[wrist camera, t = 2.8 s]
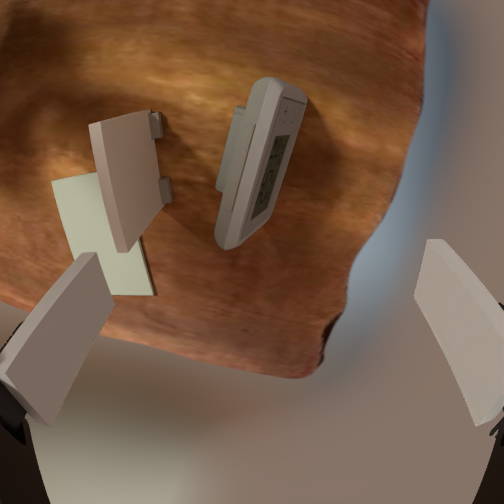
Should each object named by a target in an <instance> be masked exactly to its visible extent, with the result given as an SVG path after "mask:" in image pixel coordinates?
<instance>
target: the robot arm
mask: <svg viewBox="0 0 504 504" xmlns="http://www.w3.org/2000/svg"><path fill="white" fill-rule="evenodd" d="M414 298H415V300H416V302H417V303H418V305H419V307H420V309H421V311H422V313H423V314H424V316H425V318H426V320H427V322H428V324H429V325H430V327H431V329H432V331H433V333H434V335H435V337H436V339H437V341H438V343H439V345H440V347H441V349H442V351H443V353H444V355H445V357H446V359H447V361H448V363H449V365H450V368H451V370H452V372H453V374H454V376H455V379H456V381H457V383H458V385H459V388H460V390H461V392H462V394H463V396H464V399H465V402H466V404H467V406H468V409H469V411H470V414H471V416H472V419H473V421H474V424H475V426H478V425H480V424H483V423H486V422H488V421H491V420H493V419H494V418H495V417H496V415H497V414H498V413H499V412H500V411H501V409H503V411H504V305H503V304H501V303H497V302H496V300H495V299H494V298H493V297H492V295H491V294H490V293H489V291H488V290H487V289H486V288H485V287H484V285H483V284H482V283H481V282H480V280H479V279H478V278H477V277H476V276H475V274H474V273H473V272H472V271H471V270H470V269H469V267H468V266H467V265H466V264H465V263H464V262H463V261H462V260H461V258H460V257H459V256H458V255H457V254H456V253H455V252H454V251H453V250H452V249H451V247H450V246H449V245H448V244H447V243H446V242H445V241H444V240H443V239H427V243H426V248H425V252H424V257H423V261H422V266H421V270H420V274H419V278H418V282H417V286H416V290H415V293H414ZM114 307H115V303H114V301H113V298H112V295H111V293H110V290H109V287H108V285H107V282H106V279H105V276H104V273H103V270H102V267H101V264H100V261H99V258H98V255H97V252H84V253H81V254H80V255H79V257H78V258H77V259H76V260H75V261H74V262H73V263H72V264H71V265H70V266H69V268H68V269H67V270H66V271H65V272H64V273H63V274H62V275H61V277H60V278H59V279H58V280H57V281H56V282H55V284H54V285H53V286H52V287H51V288H50V289H49V291H48V292H47V293H46V294H45V295H44V297H43V298H42V299H41V300H40V302H39V303H38V304H37V305H36V307H35V308H34V309H33V310H32V312H31V313H30V314H29V316H28V317H27V318H26V319H25V320H24V321H23V322H21V323H20V324H19V325H18V327H17V328H16V329H15V331H14V332H13V334H12V336H10V338H9V339H8V340H7V343H5V344H4V346H3V347H2V349H1V350H0V504H50V501H49V498H48V496H47V493H46V489H45V486H44V483H43V480H42V476H41V473H40V470H39V466H38V462H37V459H36V455H35V450H34V446H33V442H32V438H31V433H30V428H29V424H28V422H27V420H26V419H25V418H24V417H25V415H26V413H28V414H29V415H30V416H31V417H32V418H33V419H34V420H35V421H36V422H38V423H41V424H43V425H46V426H49V427H52V426H53V424H54V421H55V419H56V417H57V415H58V413H59V410H60V408H61V406H62V404H63V402H64V400H65V398H66V396H67V394H68V392H69V390H70V388H71V386H72V384H73V381H74V380H75V378H76V376H77V374H78V372H79V370H80V368H81V366H82V364H83V362H84V360H85V358H86V356H87V355H88V353H89V351H90V349H91V347H92V345H93V343H94V342H95V340H96V338H97V336H98V334H99V333H100V331H101V329H102V327H103V326H104V324H105V322H106V320H107V319H108V317H109V315H110V313H111V312H112V310H113V308H114ZM498 429H499V430H498ZM497 430H498V434H497V435H496V436H495V438H496V441H495V444H494V447H493V451H492V454H491V457H490V460H489V463H488V466H487V468H486V471H485V474H484V477H483V479H482V482H481V484H480V487H479V489H478V492H477V494H476V497H475V499H474V501H473V503H472V504H504V417H503V418H502V419H501V420H500V422H499V423H498V424H497V425H496V426H495V427H494V428H493V429H492V430H491V432H490V434H489V435H490V436H492V435H493V434H494V433H495V432H496V431H497Z"/></svg>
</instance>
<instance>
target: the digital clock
mask: <svg viewBox="0 0 504 504" xmlns="http://www.w3.org/2000/svg"><path fill="white" fill-rule="evenodd" d="M307 102H308V98H307V97H306V95H305V94H304V92H303V91H302V90H301V89H299V88H297V87H295V86H293V85H291V84H289V83H287V82H285V81H283V80H280V79H278V78H274V77H265V78H262V79H259V80H258V81H256V82H255V83H254V84H253V86H252V89H251V92H250V95H249V99H248V102H247V105H246V107H244V106H236V107H235V110H234V114H233V118H232V122H231V126H230V129H229V133H228V137H227V141H226V145H225V149H224V153H223V157H222V161H221V165H220V169H219V173H218V177H217V181H216V185H215V188H216V190H218V191H220V192H222V193H223V196H222V200H221V204H220V208H219V213H218V217H217V221H216V226H215V230H214V237H215V240H216V242H217V244H218V245H219V246H220V247H221V248H222V249H224V250H228V249H232V248H235V247H238V246H239V245H241V244H242V243H243V242H244V241H245V240H246V239H248V238H249V237H250V236H251V235H252V234H253V233H254V232H255V231H257V230H258V229H259V228H260V227H261V226H262V225H263V224H265V223H266V222H267V221H268V220H269V218H270V217H271V215H272V212H273V209H274V206H275V203H276V200H277V197H278V194H279V191H280V188H281V185H282V181H283V178H284V175H285V172H286V169H287V166H288V163H289V160H290V156H291V153H292V150H293V147H294V144H295V141H296V138H297V134H298V131H299V128H300V125H301V122H302V119H303V115H304V112H305V109H306V106H307Z"/></svg>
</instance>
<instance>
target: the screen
mask: <svg viewBox="0 0 504 504" xmlns="http://www.w3.org/2000/svg"><path fill="white" fill-rule="evenodd" d="M88 126H89V132H90V138H91V144H92V150H93V155H94V160H95V165H96V170H97V175H98V180H99V185H100V189H101V193H102V198H103V202H104V206H105V210H106V214H107V218H108V222H109V226H110V229H111V233H112V237H113V240H114V244H115V247H116V251H117V253H129V251H130V250H131V248H132V247H133V246H134V244H135V243H136V242H137V240H138V239H139V238H140V236H141V235H142V234H143V232H144V231H145V230H146V228H147V227H148V226H149V225H150V223H151V222H152V221H153V219H154V218H155V217H156V216H157V214H158V213H159V212H160V210H161V209H162V208H163V207H164V205H165V204H166V203H172V201H173V194H172V188H171V182H170V177H164V178H160V172H159V166H158V160H157V153H156V146H155V139H156V138H162V137H164V134H163V126H162V118H161V112H156V113H151V109H150V110H144V111H140V112H135V113H131V114H127V115H123V116H119V117H115V118H111V119H107V120H103V121H100V122H96V123H93V124H89V125H88Z"/></svg>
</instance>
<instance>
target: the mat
mask: <svg viewBox="0 0 504 504" xmlns="http://www.w3.org/2000/svg"><path fill="white" fill-rule="evenodd" d="M51 183H52V187H53V191H54V195H55V199H56V203H57V206H58V210H59V213H60V217H61V220H62V223H63V227H64V230H65V233H66V236H67V239H68V242H69V245H70V248H71V251H72V254H73V257H74V260H76V259H77V258H78V257H79V255H80V254H81V253H84V252H97V255H98V258H99V261H100V264H101V267H102V270H103V273H104V276H105V279H106V282H107V285H108V287H109V290H110V293H111V295H154V290H153V286H152V283H151V279H150V276H149V272H148V269H147V265H146V261H145V258H144V254H143V250H142V246H141V242H140V238H139V239H138V240H137V242H136V243H135V244H134V246H133V247H132V248H131V250H130V251H129V253H117V251H116V247H115V244H114V240H113V237H112V233H111V229H110V226H109V222H108V218H107V214H106V210H105V206H104V202H103V198H102V193H101V189H100V185H99V180H98V175H97V172H92V173H86V174H81V175H76V176H71V177H67V178H62V179H57V180H53V181H51Z"/></svg>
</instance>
